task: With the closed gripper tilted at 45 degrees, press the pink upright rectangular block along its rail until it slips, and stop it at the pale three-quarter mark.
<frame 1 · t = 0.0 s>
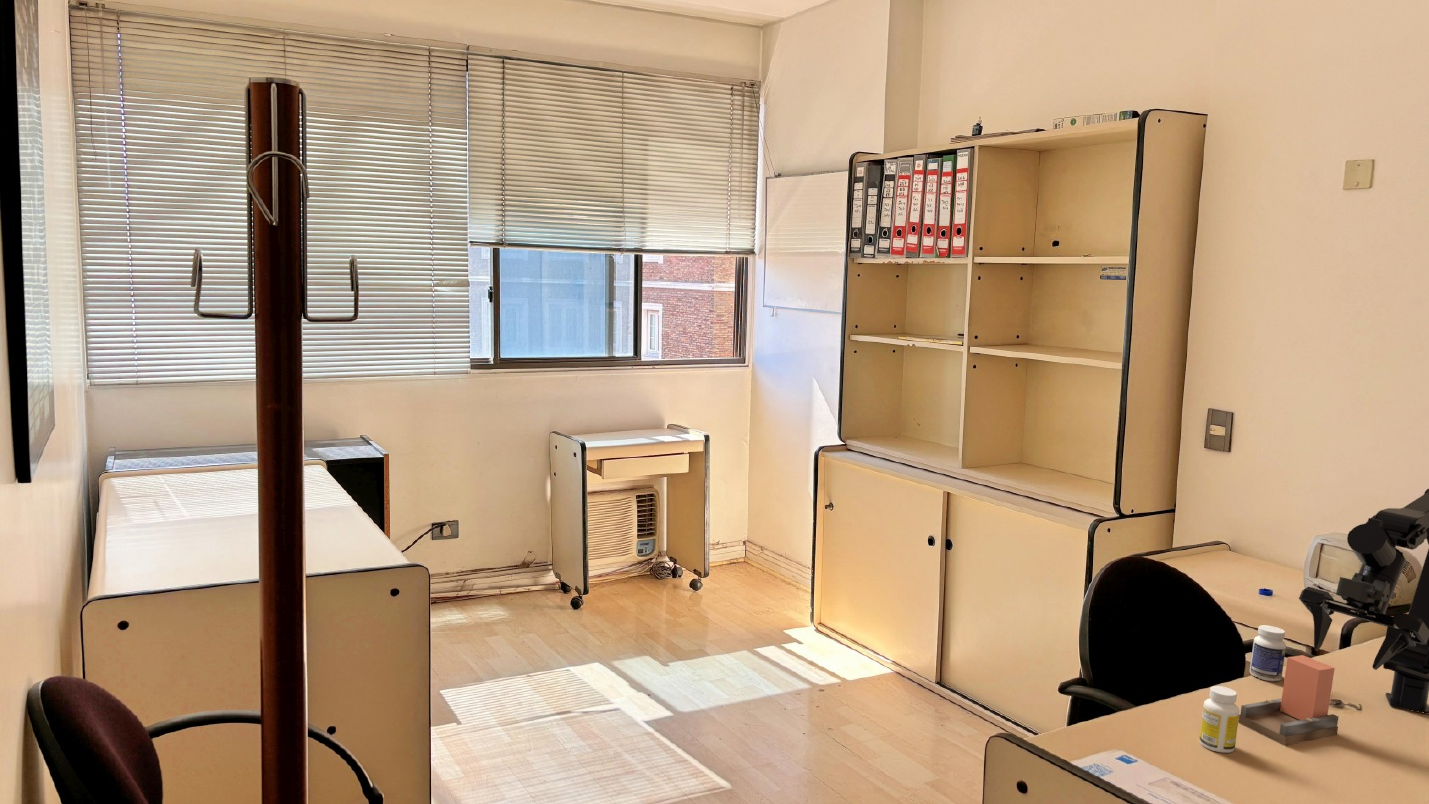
hand: (1344, 659, 172), 15 cm above the table, tool tilted 35°, fingers open, 9 cm apart
supplement bottle: (1216, 747, 170), on the table
rail housing: (1297, 726, 180), on the table
pink upright rectangular block: (1306, 689, 179), point 7 cm above the table, slide at 0.0 cm
pill bottle: (1264, 677, 203), on the table
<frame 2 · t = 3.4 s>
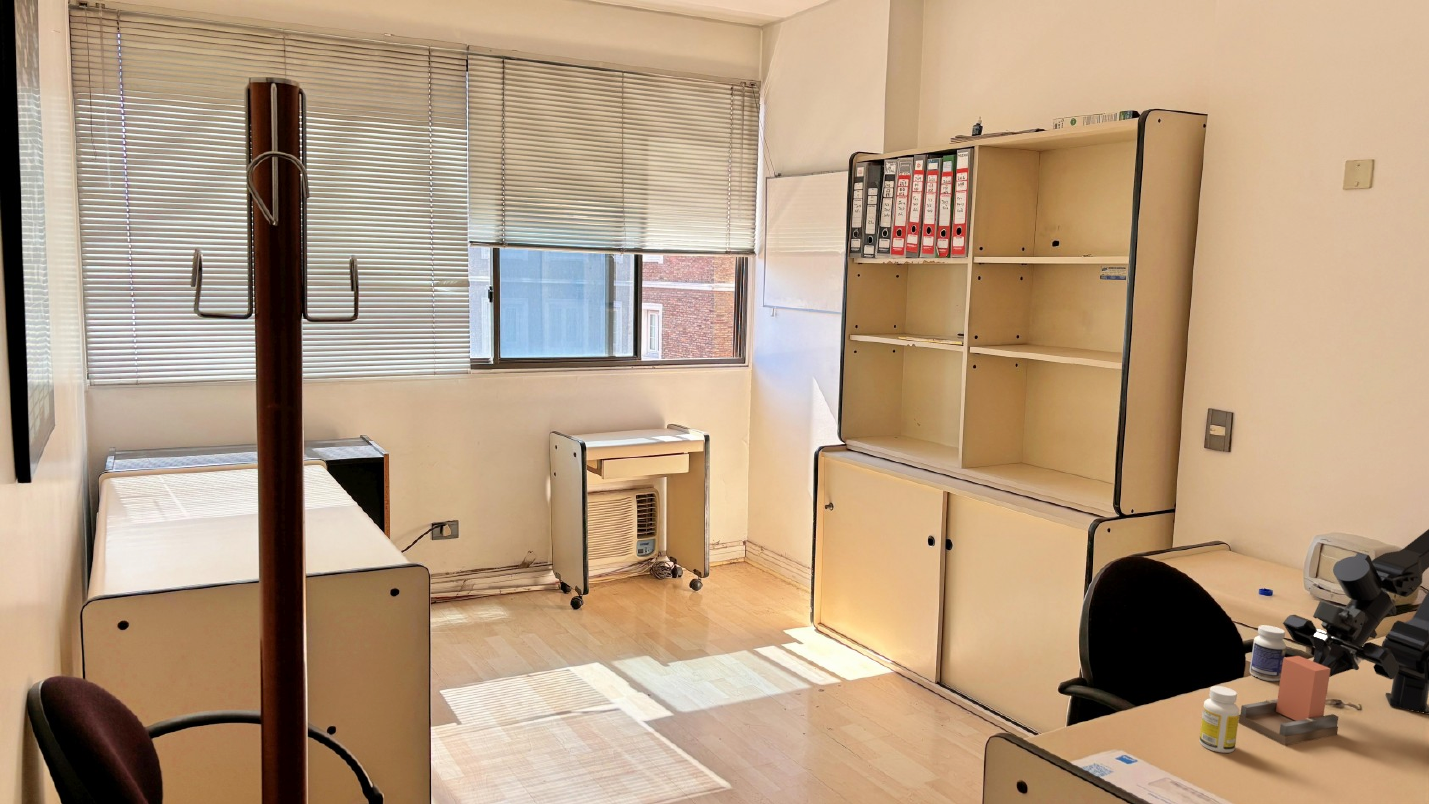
hand: (1312, 680, 179), 8 cm above the table, tool tilted 45°, fingers closed, pressing on pink upright rectangular block
pink upright rectangular block: (1302, 690, 179), point 7 cm above the table, slide at 1.1 cm, touching gripper
everything else where it was.
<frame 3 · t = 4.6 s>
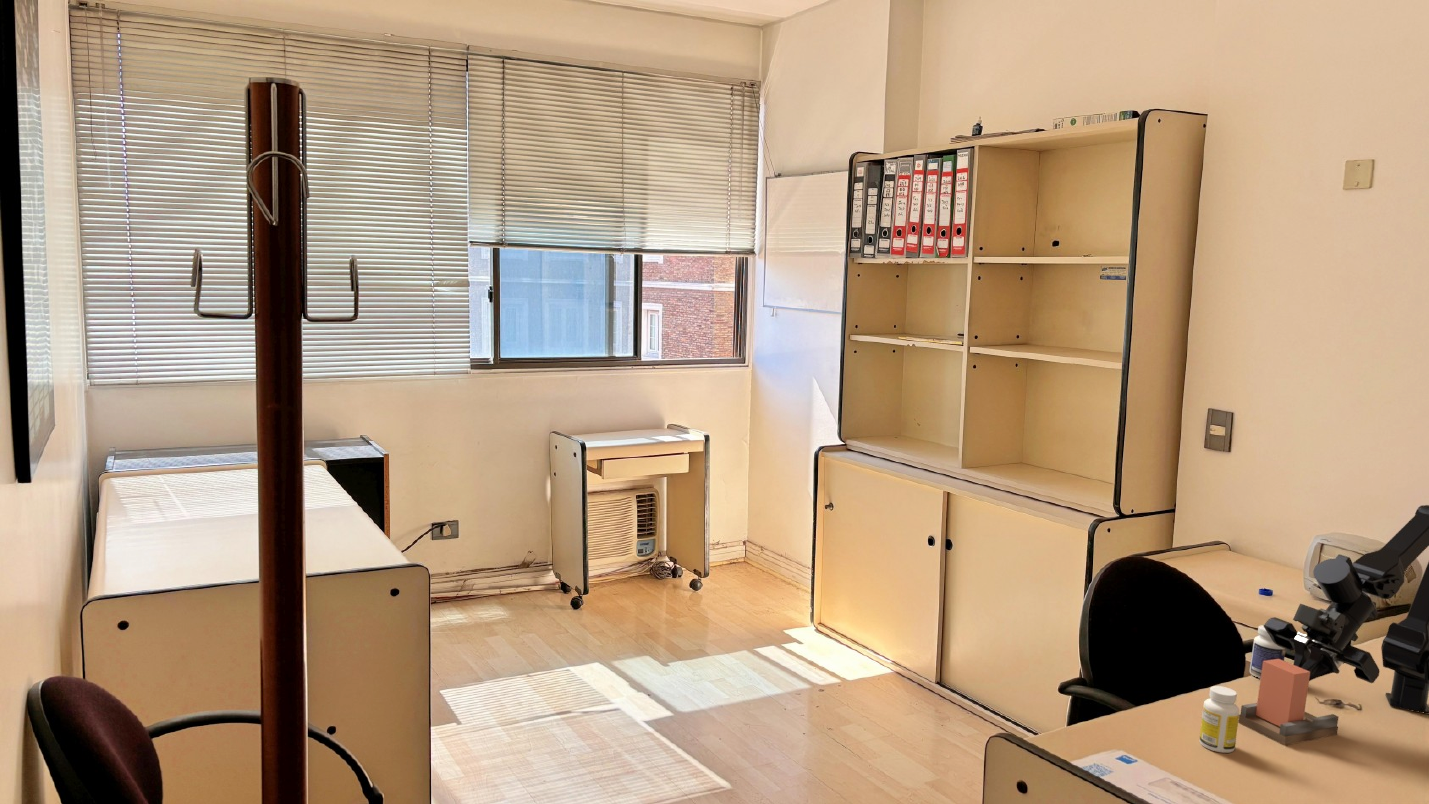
hand: (1292, 684, 177), 8 cm above the table, tool tilted 45°, fingers closed, pressing on pink upright rectangular block
pink upright rectangular block: (1282, 693, 177), point 7 cm above the table, slide at 6.3 cm, touching gripper
everything else where it was.
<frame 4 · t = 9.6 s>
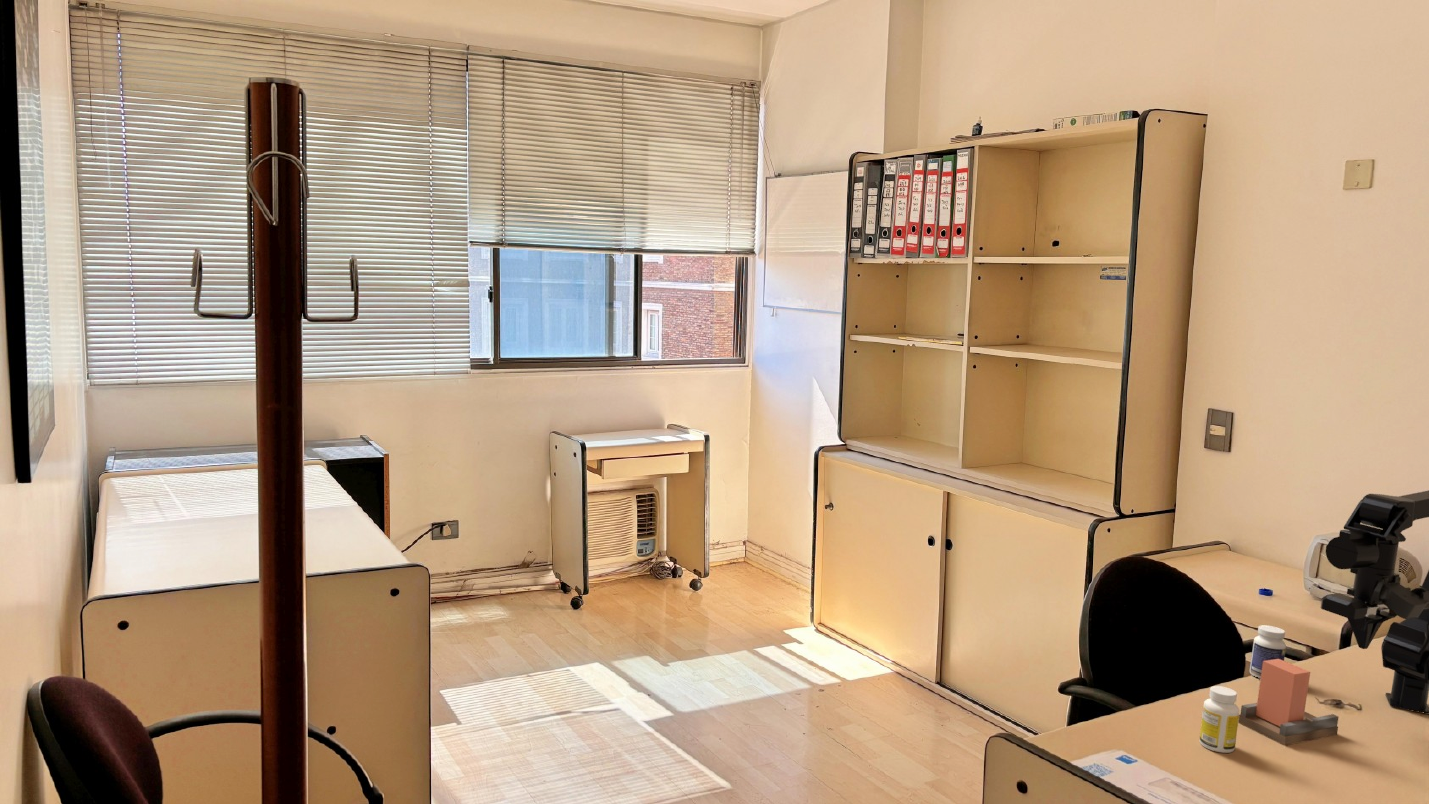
hand: (1362, 648, 184), 13 cm above the table, tool pointing down, fingers closed
pink upright rectangular block: (1282, 693, 177), point 7 cm above the table, slide at 6.3 cm
everything else where it was.
at the end: pink upright rectangular block slide at 6.3 cm; pill bottle moved 0.2 cm from its start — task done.
